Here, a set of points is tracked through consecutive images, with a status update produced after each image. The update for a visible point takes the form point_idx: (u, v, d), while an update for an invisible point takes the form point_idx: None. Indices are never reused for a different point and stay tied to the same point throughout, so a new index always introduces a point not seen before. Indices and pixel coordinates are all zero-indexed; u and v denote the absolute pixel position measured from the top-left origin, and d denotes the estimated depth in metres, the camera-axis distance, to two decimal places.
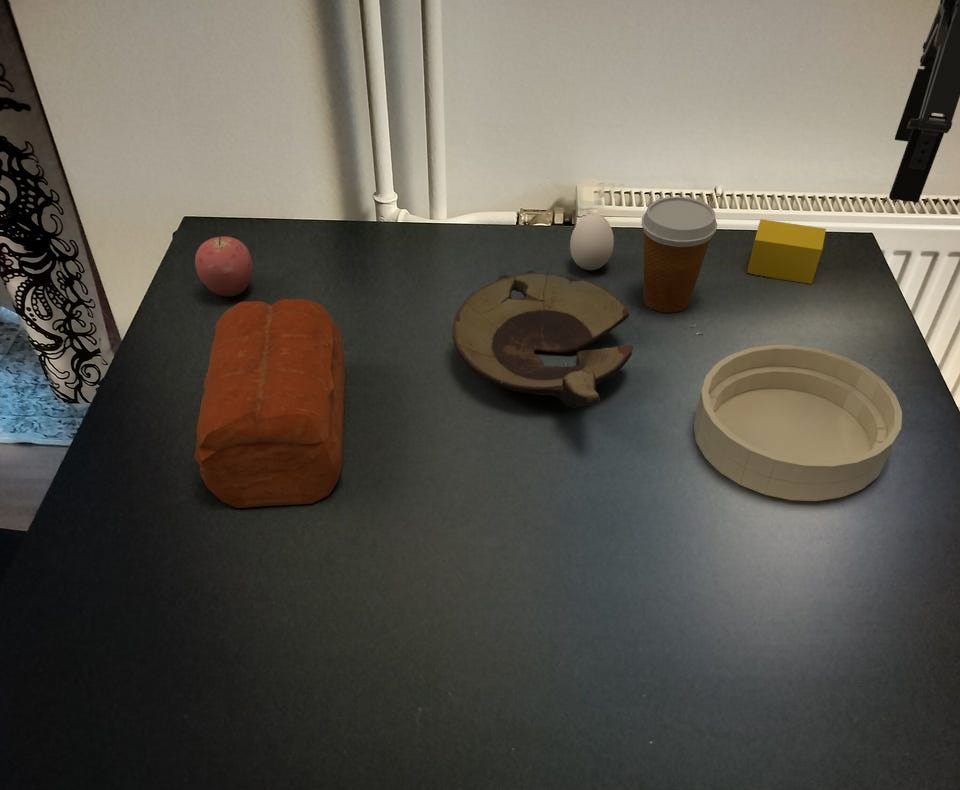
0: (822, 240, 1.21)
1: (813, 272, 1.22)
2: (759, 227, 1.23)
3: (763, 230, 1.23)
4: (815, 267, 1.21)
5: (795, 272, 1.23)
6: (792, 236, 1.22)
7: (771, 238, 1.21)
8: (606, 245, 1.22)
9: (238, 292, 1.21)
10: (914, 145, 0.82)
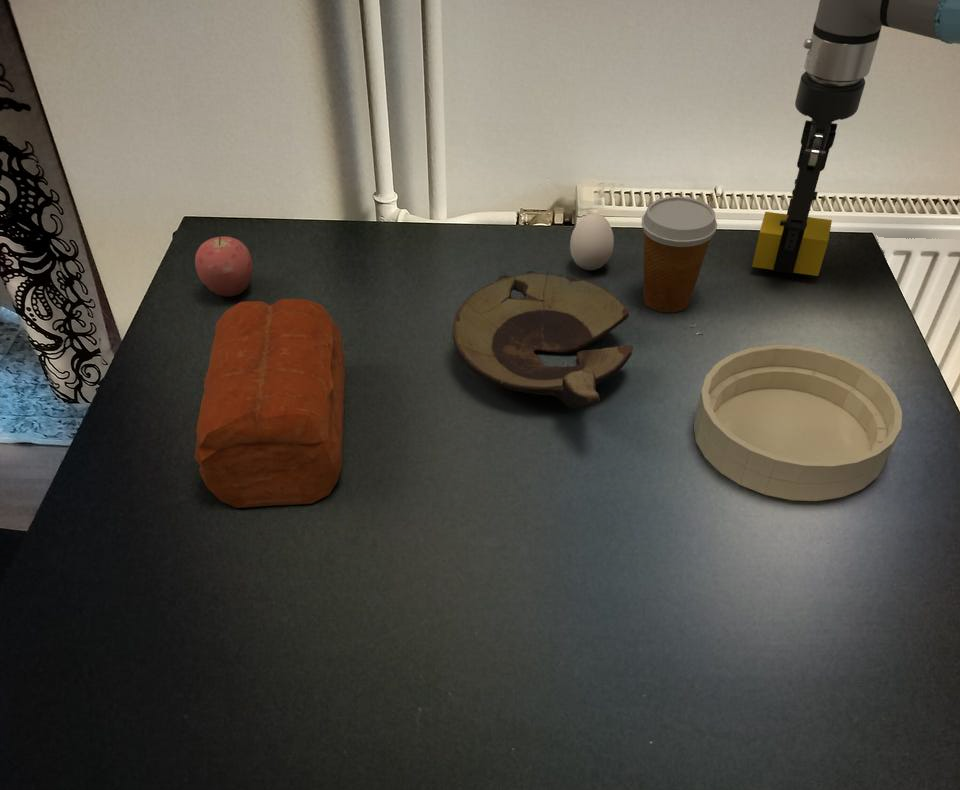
0: (828, 232, 1.20)
1: (819, 264, 1.21)
2: (764, 219, 1.22)
3: (768, 222, 1.22)
4: (821, 259, 1.20)
5: (801, 264, 1.22)
6: None
7: (776, 230, 1.20)
8: (606, 245, 1.22)
9: (238, 292, 1.21)
10: (786, 236, 1.19)
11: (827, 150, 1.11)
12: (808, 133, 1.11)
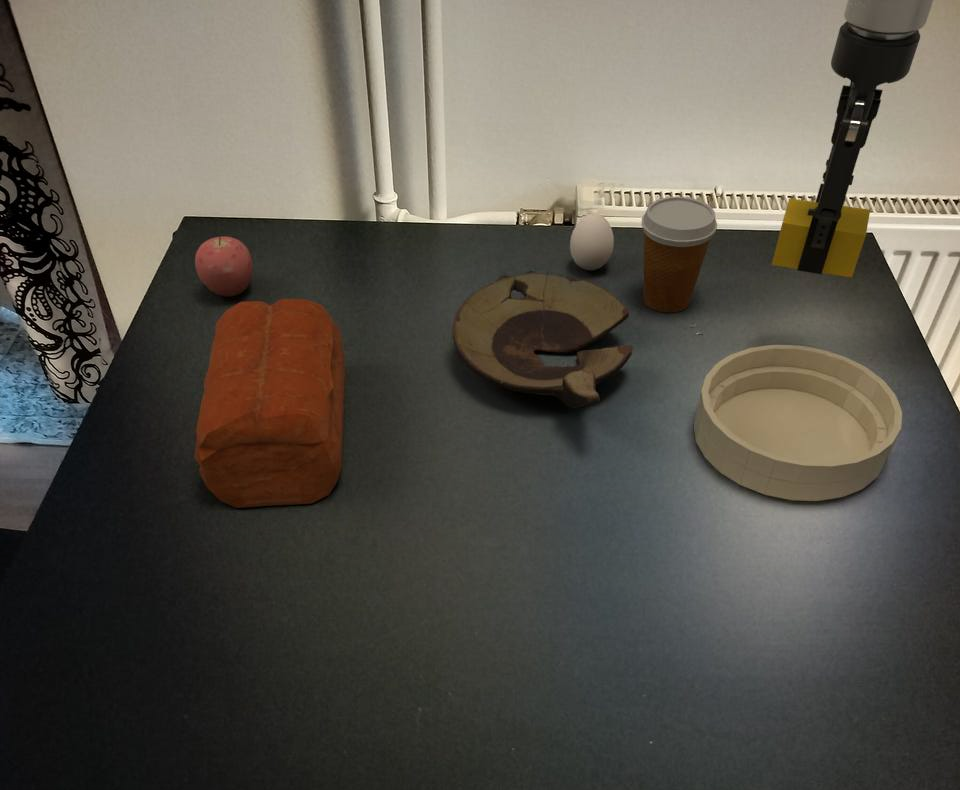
0: (865, 224, 0.98)
1: (854, 263, 1.00)
2: (788, 208, 1.01)
3: (793, 211, 1.00)
4: (856, 257, 0.99)
5: (831, 262, 1.00)
6: None
7: (803, 221, 0.99)
8: (606, 245, 1.22)
9: (238, 292, 1.21)
10: (814, 228, 0.97)
11: (869, 122, 0.90)
12: (846, 100, 0.89)
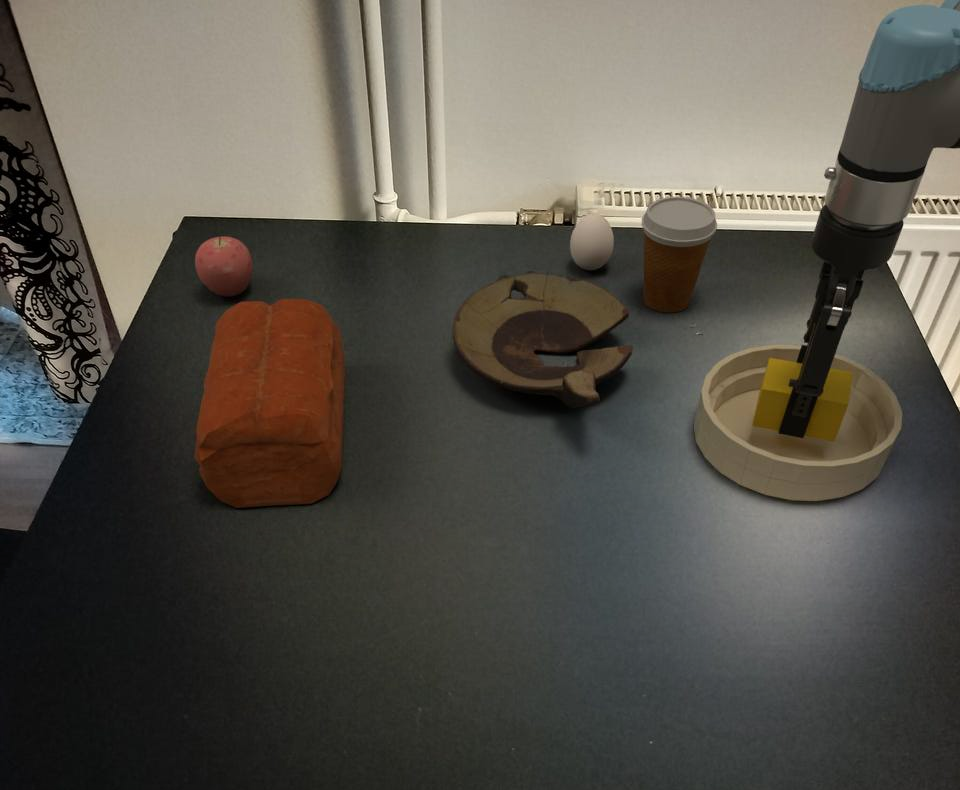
0: (848, 390, 0.95)
1: (836, 429, 0.96)
2: (768, 370, 0.97)
3: (773, 375, 0.97)
4: (839, 423, 0.96)
5: (813, 427, 0.97)
6: None
7: (783, 386, 0.96)
8: (606, 245, 1.22)
9: (238, 292, 1.21)
10: (796, 397, 0.94)
11: (851, 302, 0.86)
12: (827, 280, 0.86)
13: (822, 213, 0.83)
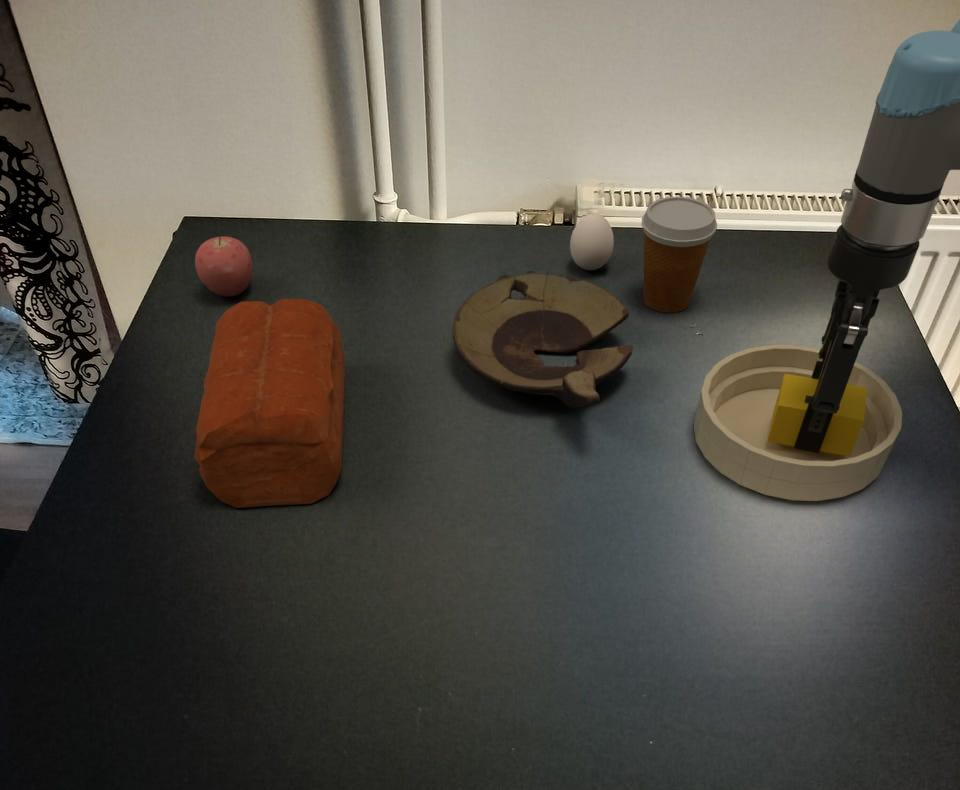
0: (863, 406, 0.96)
1: (852, 444, 0.97)
2: (783, 386, 0.98)
3: (789, 391, 0.98)
4: (854, 439, 0.97)
5: (829, 442, 0.98)
6: None
7: (799, 402, 0.97)
8: (606, 245, 1.22)
9: (238, 292, 1.21)
10: (811, 413, 0.95)
11: (867, 320, 0.87)
12: (844, 299, 0.87)
13: (838, 233, 0.83)
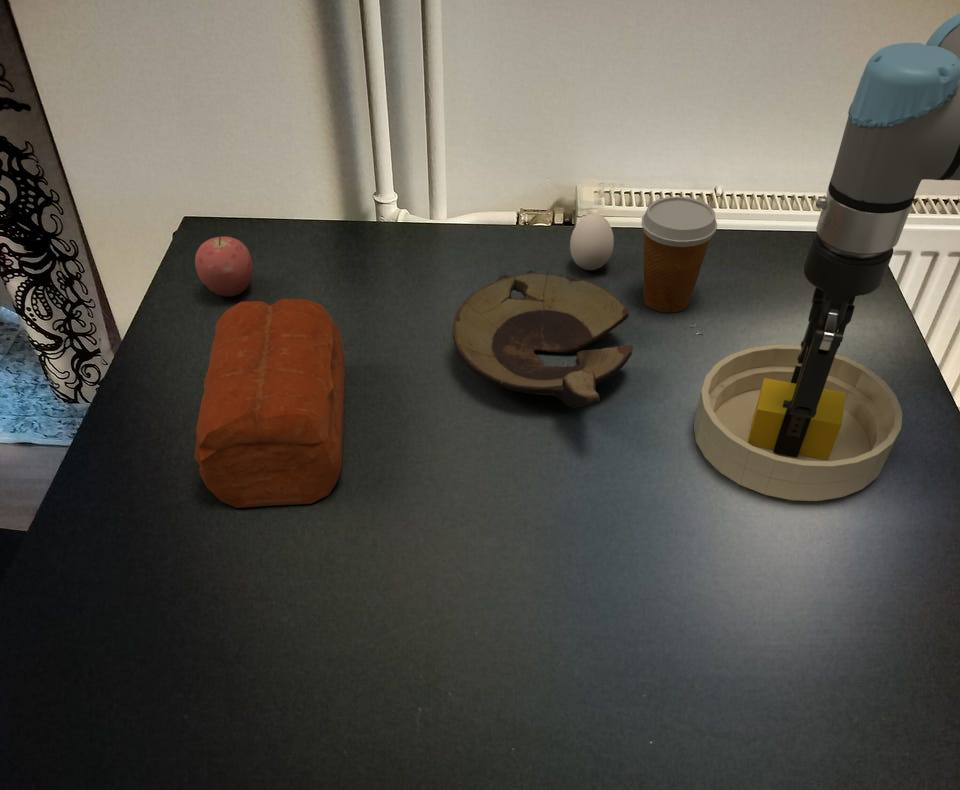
0: (841, 410, 0.97)
1: (830, 448, 0.98)
2: (763, 390, 1.00)
3: (768, 395, 0.99)
4: (832, 443, 0.98)
5: (807, 446, 0.99)
6: None
7: (778, 407, 0.98)
8: (606, 245, 1.22)
9: (238, 292, 1.21)
10: (790, 417, 0.96)
11: (843, 326, 0.88)
12: (820, 305, 0.88)
13: (814, 241, 0.85)
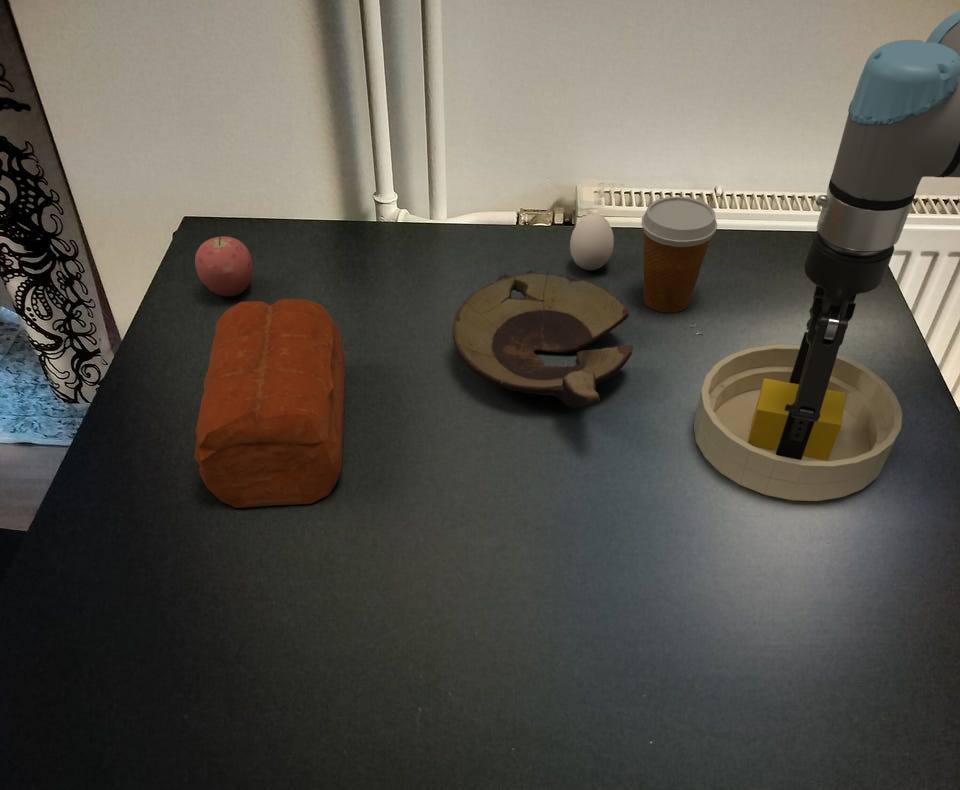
0: (841, 411, 0.97)
1: (830, 448, 0.98)
2: (763, 390, 1.00)
3: (768, 395, 0.99)
4: (832, 443, 0.98)
5: (807, 447, 0.99)
6: None
7: (778, 407, 0.98)
8: (606, 245, 1.22)
9: (238, 292, 1.21)
10: (792, 421, 0.93)
11: None
12: (821, 301, 0.88)
13: (814, 239, 0.85)
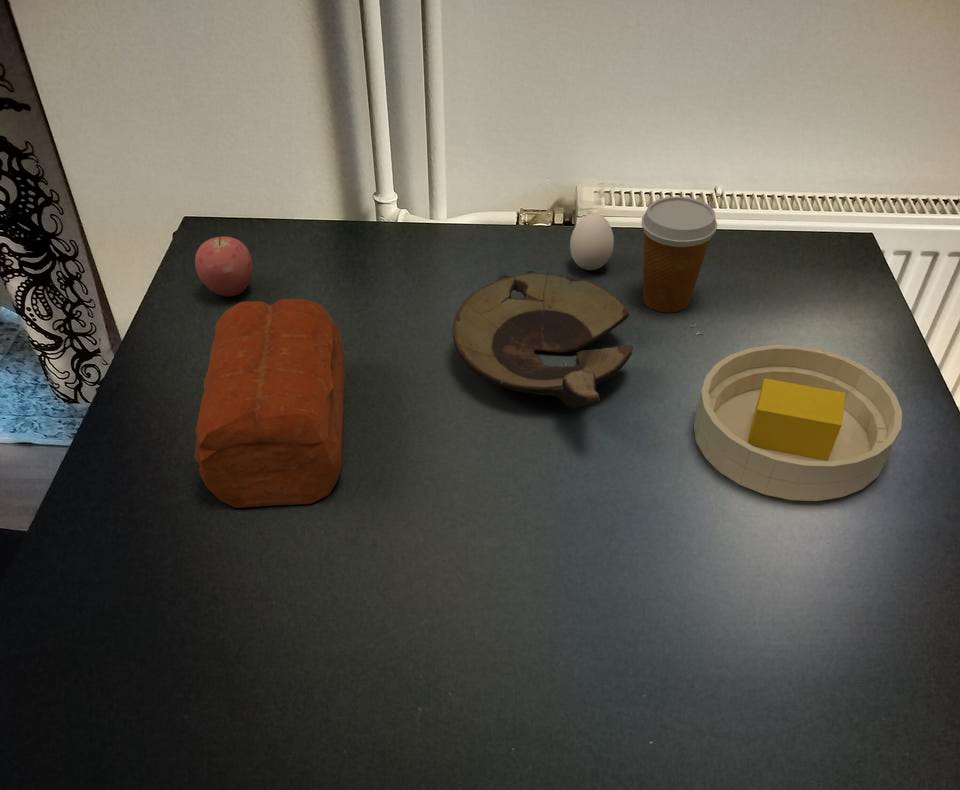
0: (841, 411, 0.97)
1: (830, 448, 0.98)
2: (763, 390, 1.00)
3: (768, 395, 0.99)
4: (832, 443, 0.98)
5: (807, 447, 0.99)
6: (803, 404, 0.98)
7: (778, 407, 0.98)
8: (606, 245, 1.22)
9: (238, 292, 1.21)
10: None
11: None
12: None
13: None
